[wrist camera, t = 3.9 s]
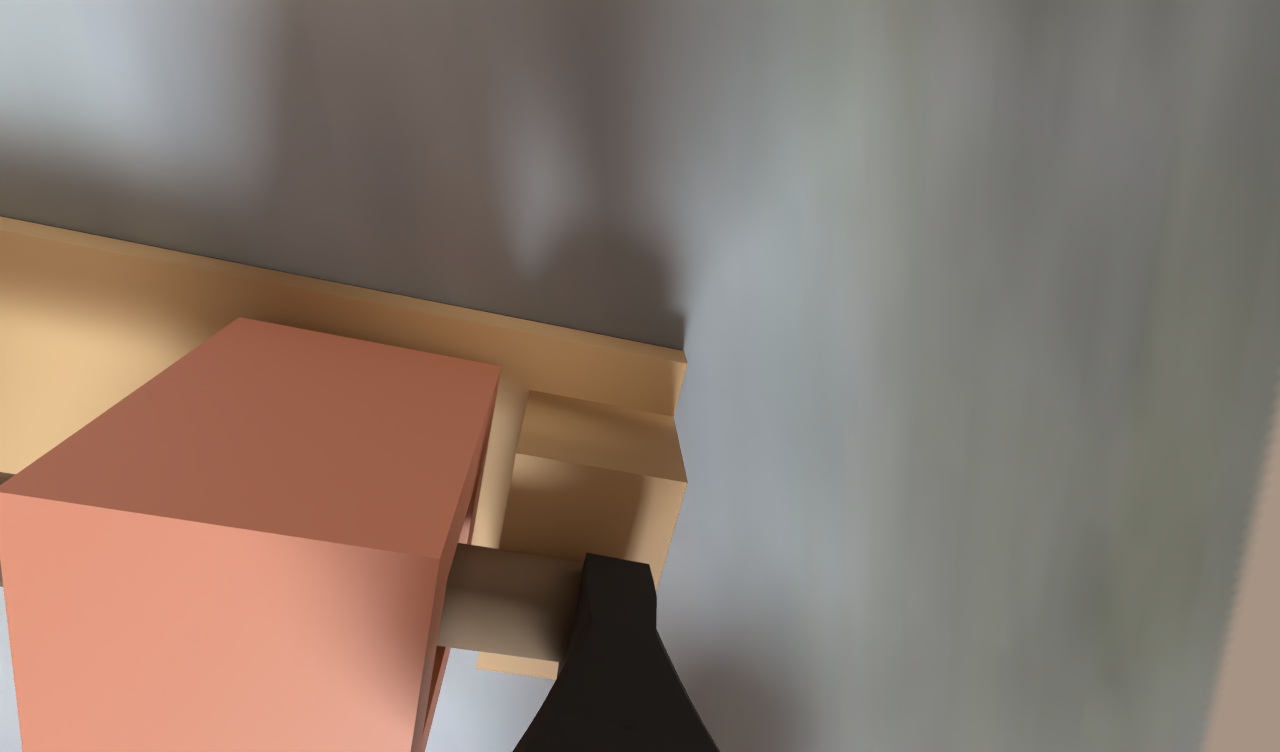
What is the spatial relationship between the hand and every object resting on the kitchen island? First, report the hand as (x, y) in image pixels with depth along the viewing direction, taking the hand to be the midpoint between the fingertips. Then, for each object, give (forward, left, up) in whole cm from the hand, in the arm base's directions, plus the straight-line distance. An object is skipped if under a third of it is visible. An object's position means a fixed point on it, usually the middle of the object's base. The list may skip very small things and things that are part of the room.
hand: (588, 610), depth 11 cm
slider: (-4, 0, -2) cm, 5 cm away
